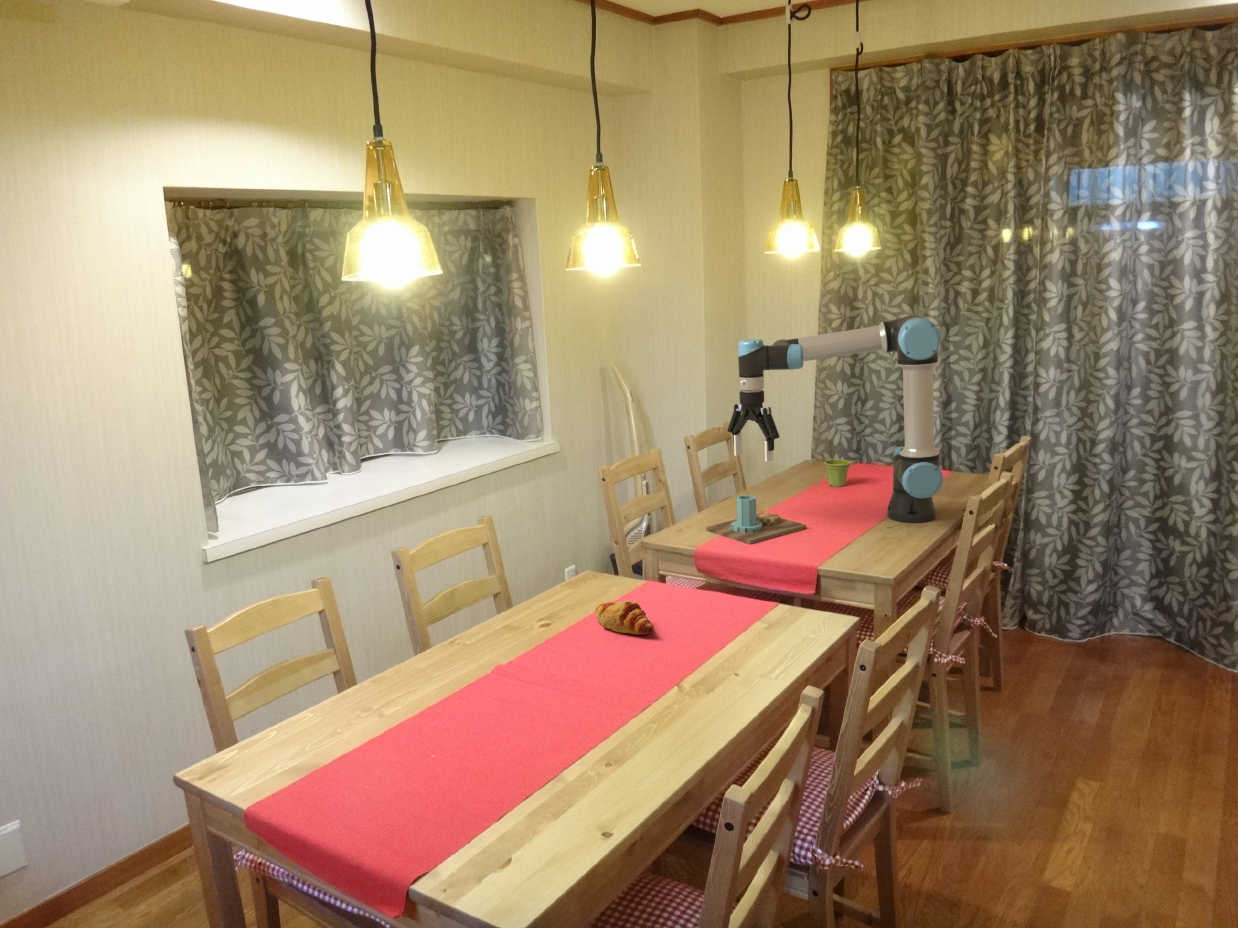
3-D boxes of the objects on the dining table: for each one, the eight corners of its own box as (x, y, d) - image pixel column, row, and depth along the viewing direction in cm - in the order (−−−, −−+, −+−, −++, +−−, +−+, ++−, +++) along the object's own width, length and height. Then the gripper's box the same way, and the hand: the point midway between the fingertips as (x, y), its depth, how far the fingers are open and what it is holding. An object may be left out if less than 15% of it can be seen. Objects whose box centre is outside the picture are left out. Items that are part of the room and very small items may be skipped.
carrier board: (806, 528, 309) (806, 509, 308) (749, 544, 296) (749, 524, 294) (761, 516, 325) (761, 498, 324) (706, 530, 311) (705, 511, 310)
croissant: (588, 631, 243) (574, 608, 240) (615, 603, 248) (602, 580, 244) (644, 653, 227) (630, 629, 223) (672, 624, 232) (659, 599, 228)
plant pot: (848, 481, 366) (848, 459, 364) (851, 487, 357) (852, 464, 355) (823, 482, 367) (823, 459, 365) (825, 488, 358) (825, 465, 356)
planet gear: (768, 528, 307) (768, 497, 304) (745, 534, 301) (745, 503, 299) (747, 522, 314) (747, 492, 312) (724, 528, 309) (724, 497, 307)
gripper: (715, 388, 309) (717, 454, 313) (772, 395, 289) (773, 465, 294) (732, 385, 313) (734, 450, 318) (790, 391, 293) (791, 461, 298)
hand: (753, 458), depth 306 cm, fingers open, 13 cm apart
